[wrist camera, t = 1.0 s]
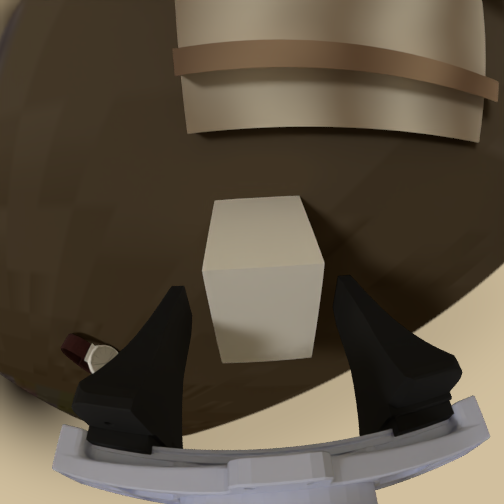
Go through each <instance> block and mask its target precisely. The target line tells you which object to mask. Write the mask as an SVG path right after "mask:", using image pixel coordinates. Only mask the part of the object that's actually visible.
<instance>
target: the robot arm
mask: <svg viewBox="0 0 504 504" xmlns="http://www.w3.org/2000/svg"><path fill="white" fill-rule="evenodd" d="M333 311H334V316H335V321H336V325H337V328H338V331H339V334H340V337H341V340H342V343H343V346H344V349H345V352H346V356H347V359H348V362H349V365H350V369H351V373H352V379H353V384H354V390H355V397H356V403H357V412H358V420H359V434H360V436H359V437H354V438H349V439H344V440H338V441H333V442H326V443H320V444H312V445H305V446H296V447H285V448H273V449H257V450H195V449H194V450H193V449H183V442H182V394H183V378H184V371H185V366H186V360H187V355H188V349H189V344H190V338H191V329H192V313H191V310H190V306H189V302H188V299H187V295H186V291H185V287H184V286H172V287H171V288H170V289H169V291H168V292H167V294H166V295H165V297H164V298H163V300H162V301H161V303H160V304H159V306H158V307H157V309H156V310H155V311H154V313H153V314H152V316H151V317H150V318H149V320H148V321H147V322H146V324H145V325H144V326H143V327H142V329H141V330H140V331H139V332H138V334H137V335H136V336H135V337H134V338H133V339H132V340H131V341H130V342H129V344H128V345H127V346H126V347H125V348H124V349H123V350H121V351H120V352H119V353H118V354H117V355H116V356H115V357H114V358H113V359H111V360H110V361H109V362H108V363H107V364H105V365H104V366H103V367H101V368H100V369H99V370H97V371H96V372H94V373H93V374H91V375H90V376H88V377H87V378H85V379H83V380H82V381H80V382H79V385H78V387H77V390H76V393H75V397H74V400H73V403H72V409H73V411H74V412H75V413H76V414H77V415H78V416H79V417H80V418H81V419H82V420H83V421H85V422H86V423H87V424H88V425H89V430H88V431H86V430H84V429H81V428H78V427H73V426H69V425H65V424H63V426H62V429H61V432H60V437H59V440H58V444H57V449H56V453H55V457H54V461H53V466H52V469H53V470H55V471H57V472H59V473H61V474H62V475H65V476H66V477H68V478H70V479H73V480H75V481H77V482H79V483H81V484H84V485H88V486H91V487H94V488H98V489H101V490H105V491H109V492H113V493H117V494H121V495H125V496H129V497H134V498H138V499H143V500H148V501H153V502H158V503H165V504H378V503H377V498H376V492H375V490H378V489H381V488H385V487H388V486H391V485H394V484H397V483H399V482H403V481H405V480H408V479H411V478H413V477H416V476H419V475H421V474H424V473H426V472H428V471H431V470H433V469H435V468H438V467H440V466H442V465H445V464H447V463H449V462H451V461H454V460H456V459H458V458H460V457H462V456H464V455H466V454H467V453H469V452H470V451H472V450H473V449H474V448H476V447H477V446H479V445H480V444H482V443H483V442H484V441H486V440H487V439H489V437H490V434H489V432H488V429H487V426H486V423H485V421H484V418H483V416H482V413H481V411H480V408H479V406H478V403H477V401H476V399H475V396H471V397H468V398H466V399H463V400H461V401H458V402H456V403H455V404H453V405H452V406H451V404H450V401H449V400H451V399H452V396H451V394H450V391H451V389H452V388H453V387H454V386H455V385H456V384H457V382H458V381H459V379H460V378H461V375H462V370H461V368H460V366H459V364H458V361H457V360H456V358H455V356H454V355H452V354H449V353H447V352H445V351H443V350H441V349H439V348H437V347H435V346H432V345H431V344H429V343H427V342H425V341H424V340H422V339H420V338H419V337H417V336H416V335H414V334H413V333H411V332H410V331H409V330H407V329H406V328H404V327H403V326H402V325H401V324H399V323H398V322H397V321H395V320H394V319H393V318H392V317H391V316H390V315H389V314H387V313H386V312H385V311H384V310H383V309H382V308H381V307H380V306H379V305H378V304H377V303H376V302H375V301H374V300H373V299H372V298H371V297H370V296H369V295H368V294H367V293H366V292H365V291H364V290H363V288H362V287H361V286H360V285H359V284H358V283H357V282H356V281H355V280H354V279H353V278H352V277H351V276H350V275H344V276H338V278H337V285H336V291H335V297H334V302H333Z"/></svg>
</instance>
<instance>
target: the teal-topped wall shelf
mask: <svg viewBox="0 0 504 504" xmlns="http://www.w3.org/2000/svg"><path fill="white" fill-rule="evenodd" d="M175 8H176V23H177V36H178V48H174V49H173V61H174V71H175V76H179V75H181V81H182V91H183V100H184V109H185V117H186V126H187V134H190V133H199V132H208V131H219V130H231V129H245V128H264V127H351V128H370V129H383V130H395V131H405V132H414V133H422V134H430V135H437V136H444V137H450V138H456V139H462V140H468V141H473V142H478V143H479V138H480V131H481V123H482V114H483V104H484V98H486V99H489V100H492V101H495V102H498V88H499V82H498V81H496V80H493V79H491V78H488V77H486V76H485V28H484V15H483V5H482V0H175Z"/></svg>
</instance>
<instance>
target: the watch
mask: <svg viewBox="0 0 504 504" xmlns="http://www.w3.org/2000/svg"><path fill="white" fill-rule="evenodd" d="M61 351H62V352H63V353H64V354H65V355H66V356H67V357H68V358H69V359H71V360H72V361H73V362H74V363H76V364H77V365H78V366H80V367H81V368H83V369H84V370H85V371H87V372H89V373H91V374H93V373H94V372H96V371H97V370H99V369H100V368H101V367H103V366H104V365H105V364H107V363H108V362H109V361H110V360H111V359H113V358H114V357H115V356H116V355H117V354H118V352H117V351H116V350H115V349H114V348H112V347H110V346H107V345H98V346H95V345H94V344H93V343H92V344H90V343H89V342H87V341H85V340H84V339H82V338H80V337H78V336H76V335H74V334H68V336H67V338H66V340H65V341H64V343H63V345H62V346H61Z"/></svg>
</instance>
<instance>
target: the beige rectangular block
mask: <svg viewBox="0 0 504 504" xmlns="http://www.w3.org/2000/svg"><path fill="white" fill-rule="evenodd" d="M324 265H325V263H324V260H323V257H322V254H321V252H320V249H319V246H318V243H317V241H316V238H315V235H314V233H313V230H312V227H311V225H310V222H309V220H308V217H307V214H306V212H305V209H304V207H303V204H302V202H301V199H300V196H283V197H263V198H246V199H231V200H217V201H215V202H214V207H213V212H212V218H211V223H210V229H209V234H208V240H207V245H206V251H205V257H204V262H203V268H202V273H203V278H204V283H205V288H206V293H207V297H208V302H209V307H210V312H211V316H212V321H213V325H214V330H215V334H216V338H217V343H218V347H219V351H220V356H221V360H222V363H241V362H261V361H276V360H289V359H300V358H311V357H312V351H313V345H314V339H315V332H316V326H317V319H318V312H319V305H320V298H321V290H322V282H323V274H324Z"/></svg>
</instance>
